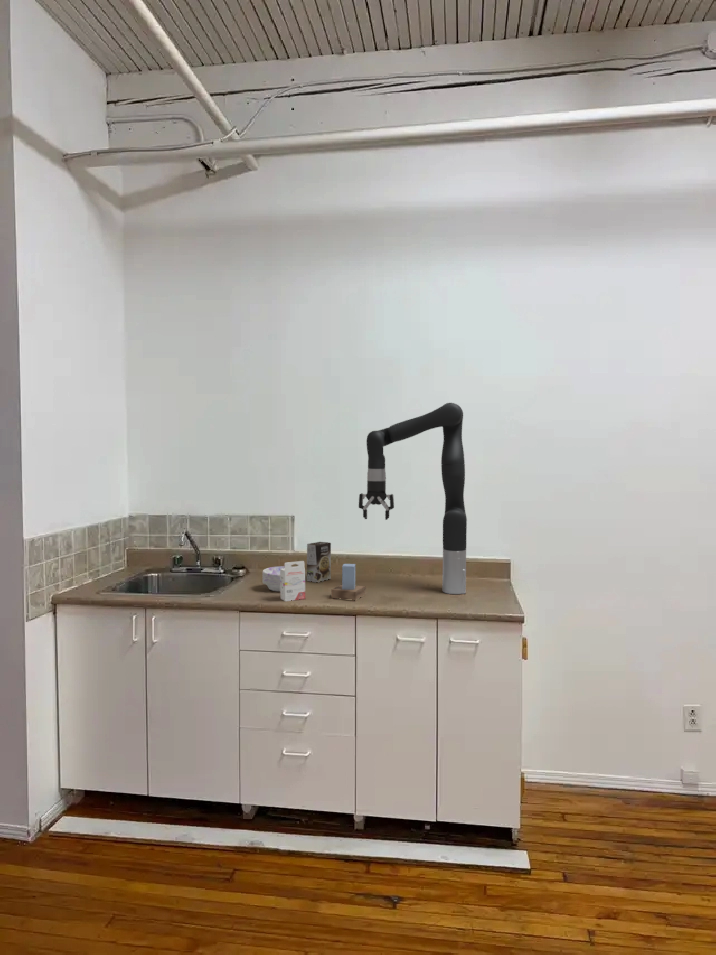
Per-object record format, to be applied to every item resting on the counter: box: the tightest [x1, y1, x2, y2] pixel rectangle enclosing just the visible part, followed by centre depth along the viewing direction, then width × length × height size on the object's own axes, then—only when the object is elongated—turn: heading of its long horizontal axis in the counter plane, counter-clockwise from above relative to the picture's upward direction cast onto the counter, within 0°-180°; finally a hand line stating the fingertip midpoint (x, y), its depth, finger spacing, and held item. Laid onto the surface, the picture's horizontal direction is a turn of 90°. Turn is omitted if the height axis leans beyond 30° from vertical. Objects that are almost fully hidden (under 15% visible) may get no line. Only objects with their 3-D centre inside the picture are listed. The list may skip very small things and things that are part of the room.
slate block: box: [341, 563, 356, 590], centre depth 258 cm, size 5×5×9 cm
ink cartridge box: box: [279, 560, 306, 602], centre depth 255 cm, size 9×5×15 cm, turn 117°
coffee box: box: [306, 541, 332, 583], centre depth 288 cm, size 9×6×16 cm
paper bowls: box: [261, 565, 285, 592], centre depth 272 cm, size 15×15×8 cm
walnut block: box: [330, 584, 366, 600], centre depth 259 cm, size 10×10×4 cm
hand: (376, 519), depth 274 cm, fingers open, 8 cm apart
